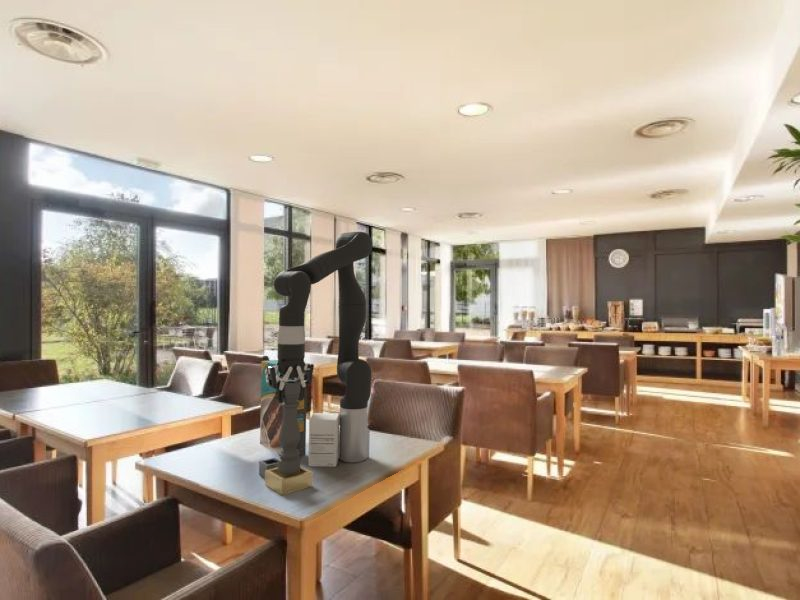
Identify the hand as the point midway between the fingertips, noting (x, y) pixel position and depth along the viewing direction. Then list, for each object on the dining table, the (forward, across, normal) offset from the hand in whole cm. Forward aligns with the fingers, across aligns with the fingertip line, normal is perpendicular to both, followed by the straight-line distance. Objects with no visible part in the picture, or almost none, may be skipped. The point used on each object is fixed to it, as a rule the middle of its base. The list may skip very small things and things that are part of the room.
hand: (290, 401), depth 135 cm
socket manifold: (+24, 0, +5) cm, 24 cm away
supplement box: (+24, +18, +10) cm, 32 cm away
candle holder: (+20, 0, 0) cm, 20 cm away
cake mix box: (+24, +15, +31) cm, 42 cm away
